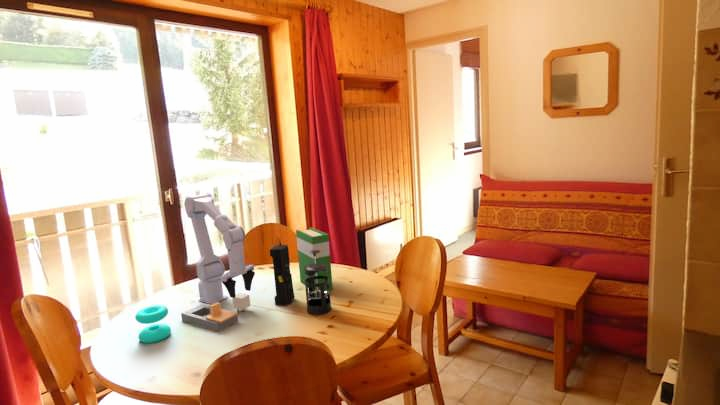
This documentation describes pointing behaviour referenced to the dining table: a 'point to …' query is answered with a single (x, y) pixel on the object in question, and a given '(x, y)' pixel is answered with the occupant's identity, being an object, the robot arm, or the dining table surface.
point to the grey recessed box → (199, 318)
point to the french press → (317, 297)
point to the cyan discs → (156, 330)
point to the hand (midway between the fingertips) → (240, 293)
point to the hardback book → (310, 242)
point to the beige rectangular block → (241, 301)
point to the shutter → (219, 313)
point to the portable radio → (282, 275)
